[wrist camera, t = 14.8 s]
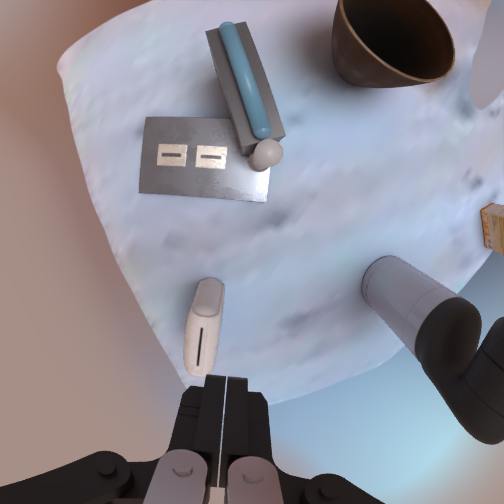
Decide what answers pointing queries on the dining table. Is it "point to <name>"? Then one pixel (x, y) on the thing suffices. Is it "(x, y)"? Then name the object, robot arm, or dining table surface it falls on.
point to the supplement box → (494, 227)
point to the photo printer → (203, 327)
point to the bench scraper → (247, 94)
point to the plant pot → (390, 43)
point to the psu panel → (198, 160)
